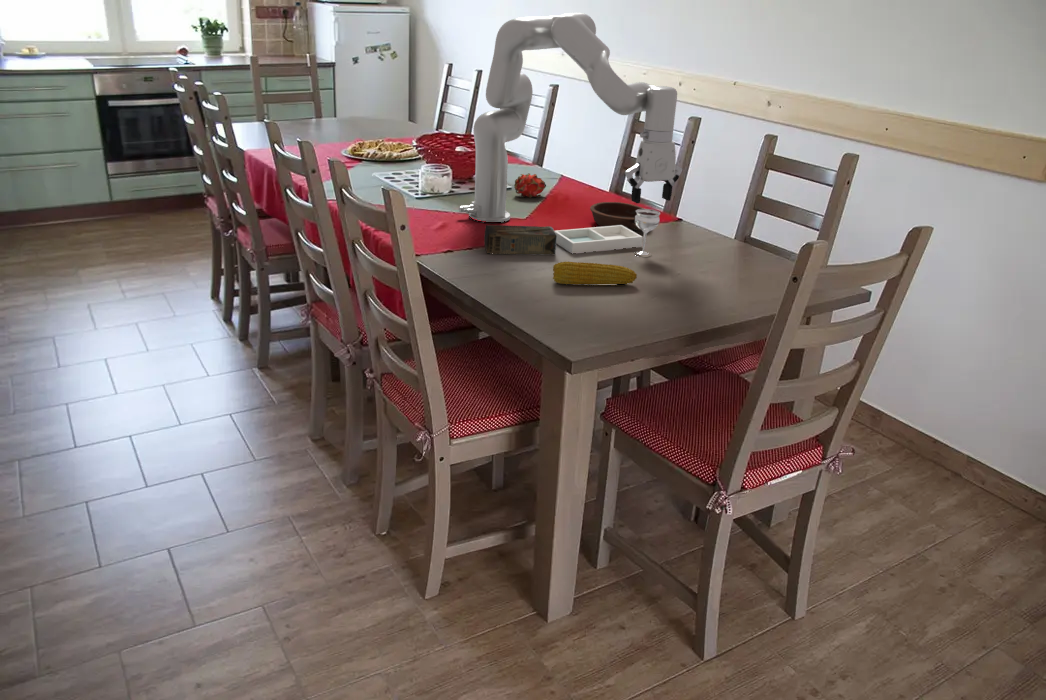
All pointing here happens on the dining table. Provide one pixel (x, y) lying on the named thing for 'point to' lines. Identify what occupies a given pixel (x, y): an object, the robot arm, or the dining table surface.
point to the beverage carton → (519, 239)
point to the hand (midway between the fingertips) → (651, 200)
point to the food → (592, 273)
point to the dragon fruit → (529, 185)
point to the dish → (615, 214)
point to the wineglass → (646, 223)
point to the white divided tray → (598, 239)
